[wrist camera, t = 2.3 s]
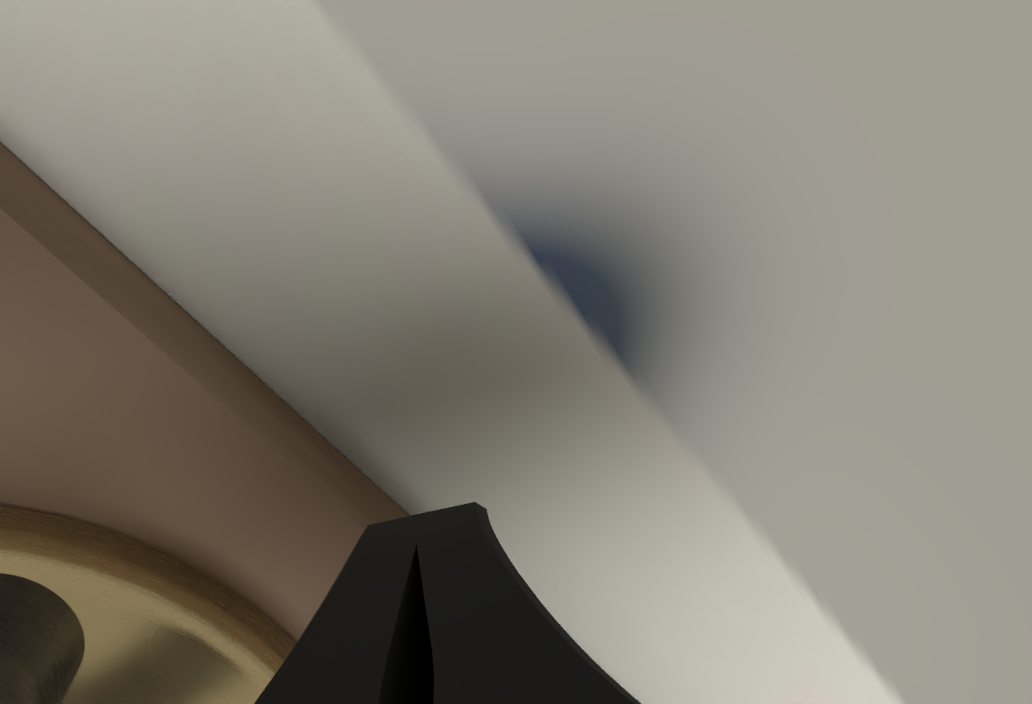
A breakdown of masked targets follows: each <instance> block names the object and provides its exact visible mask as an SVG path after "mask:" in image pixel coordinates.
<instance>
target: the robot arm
mask: <svg viewBox="0 0 1032 704" xmlns="http://www.w3.org/2000/svg"><path fill="white" fill-rule="evenodd" d="M254 704H641V703H640V702H639V701H637V700H636V699H635V698H634V697H633V696H631V695H630V694H629V693H628V692H627V691H626V690H625V689H624V688H622V687H621V686H620V685H619V684H618V683H617V682H616V681H615V680H614V679H612V678H611V677H610V676H609V675H608V674H607V673H606V672H605V671H604V670H603V669H602V668H601V667H600V666H599V665H597V664H596V663H595V662H594V661H593V660H592V659H591V658H590V657H589V656H588V655H587V654H586V653H585V652H584V650H583V649H582V648H581V647H580V646H579V645H578V644H577V643H576V642H575V641H574V640H573V639H572V638H571V637H570V636H569V634H568V633H567V632H566V631H565V630H564V629H563V628H562V627H561V626H560V625H559V623H558V622H557V621H556V620H555V619H554V618H553V617H552V615H551V614H550V613H549V612H548V611H547V609H546V608H545V607H544V606H543V605H542V603H541V602H540V601H539V599H538V598H537V597H536V595H535V594H534V593H533V591H532V590H531V589H530V588H529V586H528V585H527V584H526V582H525V581H524V580H523V578H522V577H521V576H520V574H519V573H518V571H517V570H516V568H515V567H514V566H513V564H512V563H511V561H510V560H509V558H508V556H507V555H506V553H505V551H504V550H503V548H502V546H501V545H500V543H499V541H498V539H497V537H496V535H495V533H494V531H493V529H492V527H491V525H490V522H489V518H488V514H487V509H485V508H484V507H482V506H481V505H479V504H477V503H476V502H473V503H468V504H463V505H459V506H454V507H449V508H445V509H440V510H436V511H431V512H426V513H422V514H417V515H412V516H408V517H403V518H398V519H394V520H389V521H385V522H380V523H375V524H371V525H368V526H367V528H366V529H365V531H364V532H363V534H362V535H361V536H360V538H359V540H358V542H357V543H356V545H355V547H354V548H353V550H352V552H351V554H350V556H349V557H348V559H347V561H346V563H345V564H344V566H343V568H342V570H341V571H340V573H339V575H338V577H337V578H336V580H335V582H334V583H333V585H332V587H331V588H330V590H329V592H328V593H327V595H326V597H325V599H324V600H323V602H322V603H321V605H320V607H319V608H318V610H317V611H316V613H315V615H314V616H313V618H312V619H311V621H310V622H309V624H308V626H307V627H306V629H305V630H304V632H303V634H302V635H301V637H300V638H299V640H298V641H297V643H296V645H295V646H294V648H293V649H292V651H291V652H290V654H289V655H288V657H287V658H286V659H285V661H284V662H283V664H282V665H281V666H280V668H279V669H278V671H277V672H276V673H275V675H274V676H273V678H272V679H271V680H270V682H269V683H268V685H267V686H266V687H265V689H264V690H263V692H262V693H261V694H260V696H259V697H258V699H257V700H256V701H255V703H254Z"/></svg>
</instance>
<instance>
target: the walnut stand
mask: <svg viewBox="0 0 1032 704" xmlns="http://www.w3.org/2000/svg"><path fill="white" fill-rule="evenodd" d="M0 506H4V507H9V508H15V509H21V510H27V511H32V512H38V513H44V514H50V515H55V516H59V517H62V518H66V519H69V520H73V521H76V522H80V523H83V524H87V525H90V526H94V527H97V528H101V529H104V530H108V531H112V532H114V533H117V534H119V535H122V536H124V537H127V538H129V539H132V540H134V541H137V542H139V543H142V544H144V545H147V546H149V547H152V548H154V549H157V550H159V551H162V552H164V553H167V554H169V555H170V556H172V557H174V558H176V559H178V560H180V561H182V562H183V563H185V564H187V565H189V566H191V567H193V568H194V569H196V570H198V571H200V572H202V573H204V574H206V575H207V576H209V577H211V578H213V579H215V580H217V581H218V582H219V583H221V584H222V585H224V586H225V587H227V588H228V589H229V590H231V591H232V592H234V593H235V594H237V595H238V596H239V597H241V598H242V599H244V600H245V601H247V602H248V603H249V604H251V605H252V606H254V607H255V608H256V609H258V610H259V611H260V612H261V613H262V614H264V615H265V616H266V617H267V618H268V619H269V620H270V621H271V622H272V623H274V624H275V625H276V626H277V627H278V628H279V629H280V630H281V631H282V632H283V633H285V634H286V635H287V636H288V637H289V638H290V639H291V640H292V641H293V642H294V643H295V644H296V643H297V641H298V640H299V638H300V637H301V635H302V634H303V632H304V630H305V629H306V627H307V626H308V624H309V622H310V621H311V619H312V618H313V616H314V615H315V613H316V611H317V610H318V608H319V607H320V605H321V603H322V602H323V600H324V599H325V597H326V595H327V593H328V592H329V590H330V588H331V587H332V585H333V583H334V582H335V580H336V578H337V577H338V575H339V573H340V571H341V570H342V568H343V566H344V564H345V563H346V561H347V559H348V557H349V556H350V554H351V552H352V550H353V548H354V547H355V545H356V543H357V542H358V540H359V538H360V536H361V535H362V534H363V532H364V531H365V529H366V528H367V526H368V525H371V524H375V523H380V522H385V521H389V520H394V519H398V518H403V517H408V516H409V515H408V514H407V513H406V512H405V511H404V510H402V509H401V508H400V507H399V506H398V505H397V504H396V503H395V502H394V501H393V500H391V499H390V498H389V497H388V496H387V495H386V494H385V493H384V492H383V491H382V490H380V489H379V488H378V487H377V486H376V485H375V484H374V483H373V482H372V481H371V480H370V479H368V478H367V477H366V476H365V475H364V474H363V473H362V472H361V471H360V470H359V469H357V468H356V467H355V466H354V465H353V464H352V463H351V462H350V461H349V460H348V459H346V458H345V457H344V456H343V455H342V454H341V453H340V452H339V451H338V450H337V449H336V448H334V447H333V446H332V445H331V444H330V443H329V442H328V441H327V440H326V439H325V438H323V437H322V436H321V435H320V434H319V433H318V432H317V431H316V430H315V429H314V428H312V427H311V426H310V425H309V424H308V423H307V422H306V421H305V420H304V419H303V418H301V417H300V416H299V415H298V414H297V413H296V412H295V411H294V410H293V409H292V408H291V407H289V406H288V405H287V404H286V403H285V402H284V401H283V400H282V399H281V398H280V397H278V396H277V395H276V394H275V393H274V392H273V391H272V390H271V389H270V388H269V387H267V386H266V385H265V384H264V383H263V382H262V381H261V380H260V379H259V378H258V377H257V376H255V375H254V374H253V373H252V372H251V371H250V370H249V369H248V368H247V367H246V366H244V365H243V364H242V363H241V362H240V361H239V360H238V359H237V358H236V357H235V356H233V355H232V354H231V353H230V352H229V351H228V350H227V349H226V348H225V347H224V346H223V345H221V344H220V343H219V342H218V341H217V340H216V339H215V338H214V337H213V336H212V335H210V334H209V333H208V332H207V331H206V330H205V329H204V328H203V327H202V326H201V325H199V324H198V323H197V322H196V321H195V320H194V319H193V318H192V317H191V316H190V315H189V314H187V313H186V312H185V311H184V310H183V309H182V308H181V307H180V306H179V305H178V304H176V303H175V302H174V301H173V300H172V299H171V298H170V297H169V296H168V295H167V294H165V293H164V292H163V291H162V290H161V289H160V288H159V287H158V286H157V285H156V284H155V283H153V282H152V281H151V280H150V279H149V278H148V277H147V276H146V275H145V274H144V273H142V272H141V271H140V270H139V269H138V268H137V267H136V266H135V265H134V264H133V263H131V262H130V261H129V260H128V259H127V258H126V257H125V256H124V255H123V254H122V253H120V252H119V251H118V250H117V249H116V248H115V247H114V246H113V245H112V244H111V243H110V242H108V241H107V240H106V239H105V238H104V237H103V236H102V235H101V234H100V233H99V232H97V231H96V230H95V229H94V228H93V227H92V226H91V225H90V224H89V223H88V222H86V221H85V220H84V219H83V218H82V217H81V216H80V215H79V214H78V213H77V212H76V211H74V210H73V209H72V208H71V207H70V206H69V205H68V204H67V203H66V202H65V201H63V200H62V199H61V198H60V197H59V196H58V195H57V194H56V193H55V192H54V191H52V190H51V189H50V188H49V187H48V186H47V185H46V184H45V183H44V182H43V181H42V180H40V179H39V178H38V177H37V176H36V175H35V174H34V173H33V172H32V171H31V170H29V169H28V168H27V167H26V166H25V165H24V164H23V163H22V162H21V161H20V160H18V159H17V158H16V157H15V156H14V155H13V154H12V153H11V152H10V151H9V150H8V149H6V148H5V147H4V146H3V145H2V144H1V143H0Z"/></svg>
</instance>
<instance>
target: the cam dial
mask: <svg viewBox="0 0 1032 704" xmlns="http://www.w3.org/2000/svg"><path fill="white" fill-rule="evenodd" d="M295 645H296V644H295V643H294V642H293V641H292V640H291V639H290V638H289V637H288V636H287V635H286V634H285V633H283V632H282V631H281V630H280V629H279V628H278V627H277V626H276V625H275V624H274V623H272V622H271V621H270V620H269V619H268V618H267V617H266V616H265V615H264V614H262V613H261V612H260V611H259V610H258V609H256V608H255V607H254V606H252V605H251V604H249V603H248V602H247V601H245V600H244V599H242V598H241V597H239V596H238V595H237V594H235V593H234V592H232V591H231V590H229V589H228V588H227V587H225V586H224V585H222V584H221V583H219V582H218V581H217V580H215V579H213V578H211V577H209V576H207V575H206V574H204V573H202V572H200V571H198V570H196V569H194V568H193V567H191V566H189V565H187V564H185V563H183V562H182V561H180V560H178V559H176V558H174V557H172V556H170V555H169V554H167V553H164V552H162V551H159V550H157V549H154V548H152V547H149V546H147V545H144V544H142V543H139V542H137V541H134V540H132V539H129V538H127V537H124V536H122V535H119V534H117V533H114V532H112V531H108V530H104V529H101V528H97V527H94V526H90V525H87V524H83V523H80V522H76V521H73V520H69V519H66V518H62V517H59V516H55V515H50V514H44V513H38V512H32V511H27V510H21V509H15V508H9V507H4V506H0V704H254V703H255V701H256V700H257V699H258V697H259V696H260V694H261V693H262V692H263V690H264V689H265V687H266V686H267V685H268V683H269V682H270V680H271V679H272V678H273V676H274V675H275V673H276V672H277V671H278V669H279V668H280V666H281V665H282V664H283V662H284V661H285V659H286V658H287V657H288V655H289V654H290V652H291V651H292V649H293V648H294V646H295Z"/></svg>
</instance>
